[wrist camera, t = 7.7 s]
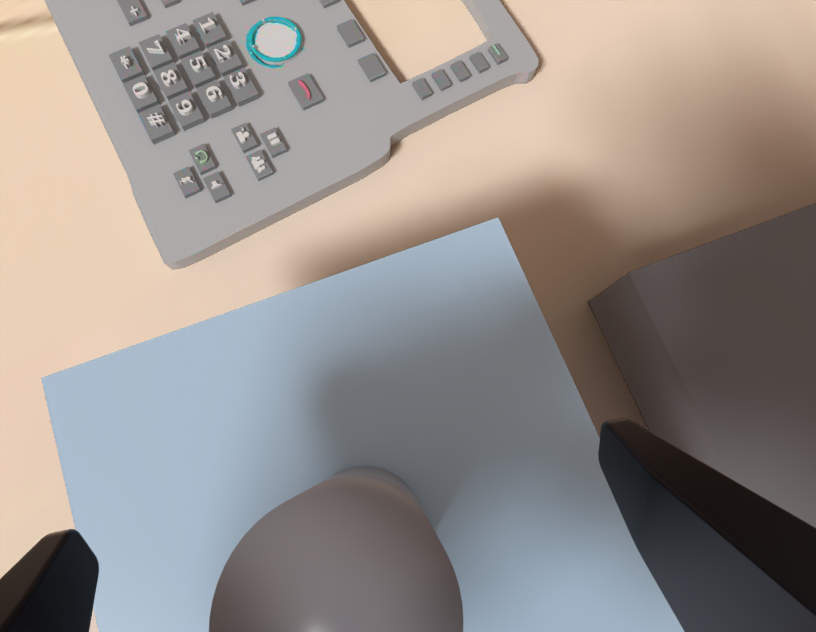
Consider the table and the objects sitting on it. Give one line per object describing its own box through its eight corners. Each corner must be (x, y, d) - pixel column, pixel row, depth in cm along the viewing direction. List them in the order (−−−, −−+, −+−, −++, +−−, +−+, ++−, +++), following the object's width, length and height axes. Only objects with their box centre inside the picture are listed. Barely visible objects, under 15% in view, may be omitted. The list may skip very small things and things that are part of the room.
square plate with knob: (703, 683, 13) (1116, 996, 6) (186, 940, 11) (-185, 1849, 4) (494, 225, 16) (587, 33, 8) (56, 380, 14) (-305, 311, 7)
